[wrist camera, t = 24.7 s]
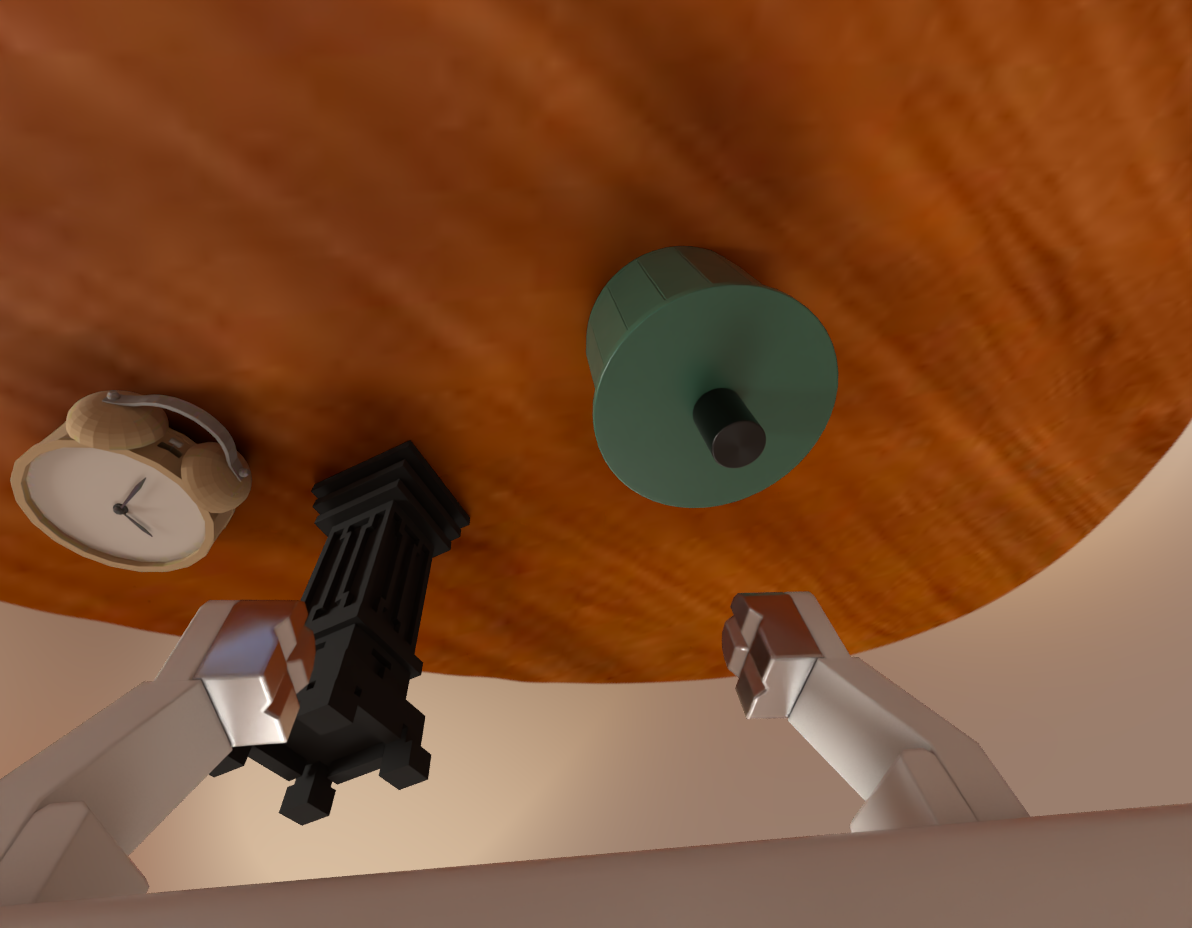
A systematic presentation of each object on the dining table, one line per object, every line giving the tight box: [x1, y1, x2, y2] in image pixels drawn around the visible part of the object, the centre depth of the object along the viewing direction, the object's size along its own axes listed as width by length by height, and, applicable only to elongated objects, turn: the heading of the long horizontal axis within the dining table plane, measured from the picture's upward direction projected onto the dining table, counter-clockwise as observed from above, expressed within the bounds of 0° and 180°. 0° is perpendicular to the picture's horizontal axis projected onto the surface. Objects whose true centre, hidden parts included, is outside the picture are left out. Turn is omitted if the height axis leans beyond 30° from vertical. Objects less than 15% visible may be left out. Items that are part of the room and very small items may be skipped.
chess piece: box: [209, 441, 470, 825], centre depth 33 cm, size 8×8×20 cm
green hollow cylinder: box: [586, 246, 761, 388], centre depth 33 cm, size 12×12×10 cm
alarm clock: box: [10, 390, 252, 572], centre depth 36 cm, size 11×5×15 cm
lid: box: [593, 282, 838, 508], centre depth 28 cm, size 13×13×5 cm
